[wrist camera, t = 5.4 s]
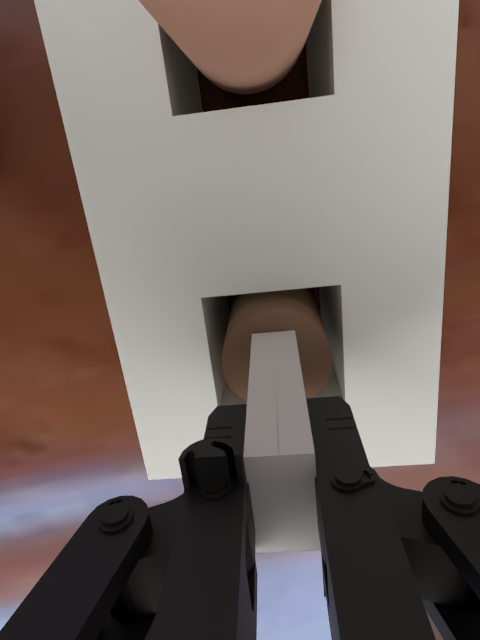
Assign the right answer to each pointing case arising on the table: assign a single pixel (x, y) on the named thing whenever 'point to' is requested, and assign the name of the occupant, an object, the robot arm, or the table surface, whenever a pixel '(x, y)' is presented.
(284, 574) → the table surface
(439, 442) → the table surface
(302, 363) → the peg
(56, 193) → the table surface
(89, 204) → the block
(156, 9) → the peg
